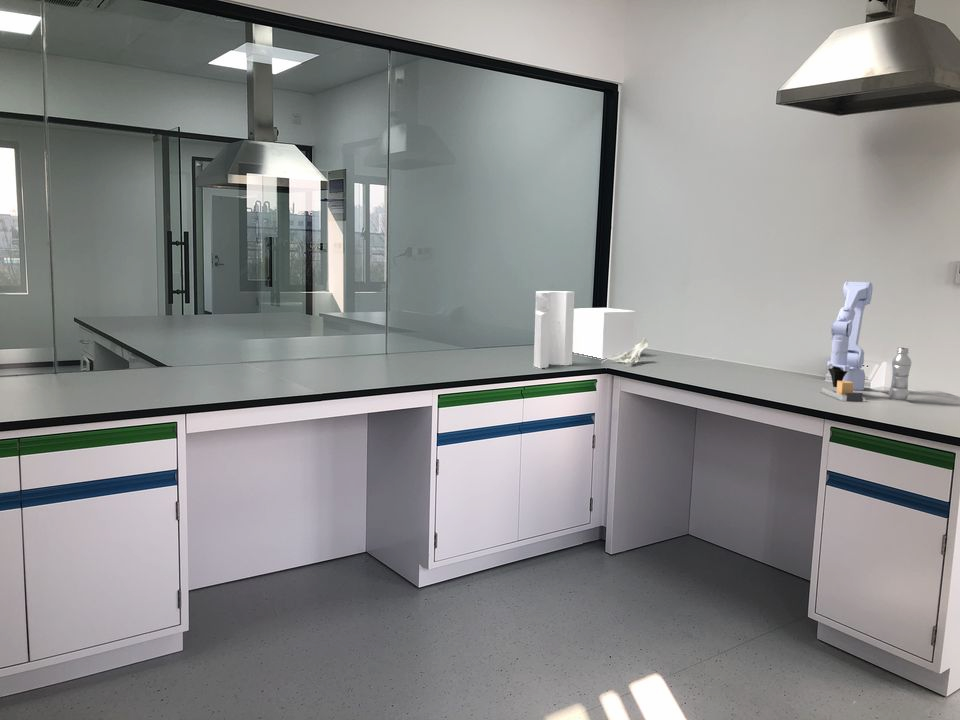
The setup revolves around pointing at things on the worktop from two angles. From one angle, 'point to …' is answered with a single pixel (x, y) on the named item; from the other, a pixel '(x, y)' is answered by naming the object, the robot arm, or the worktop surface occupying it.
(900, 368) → the plastic bottle
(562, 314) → the white grooved block
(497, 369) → the worktop surface
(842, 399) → the mounting plate
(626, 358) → the skeletal model
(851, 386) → the block
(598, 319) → the cube
